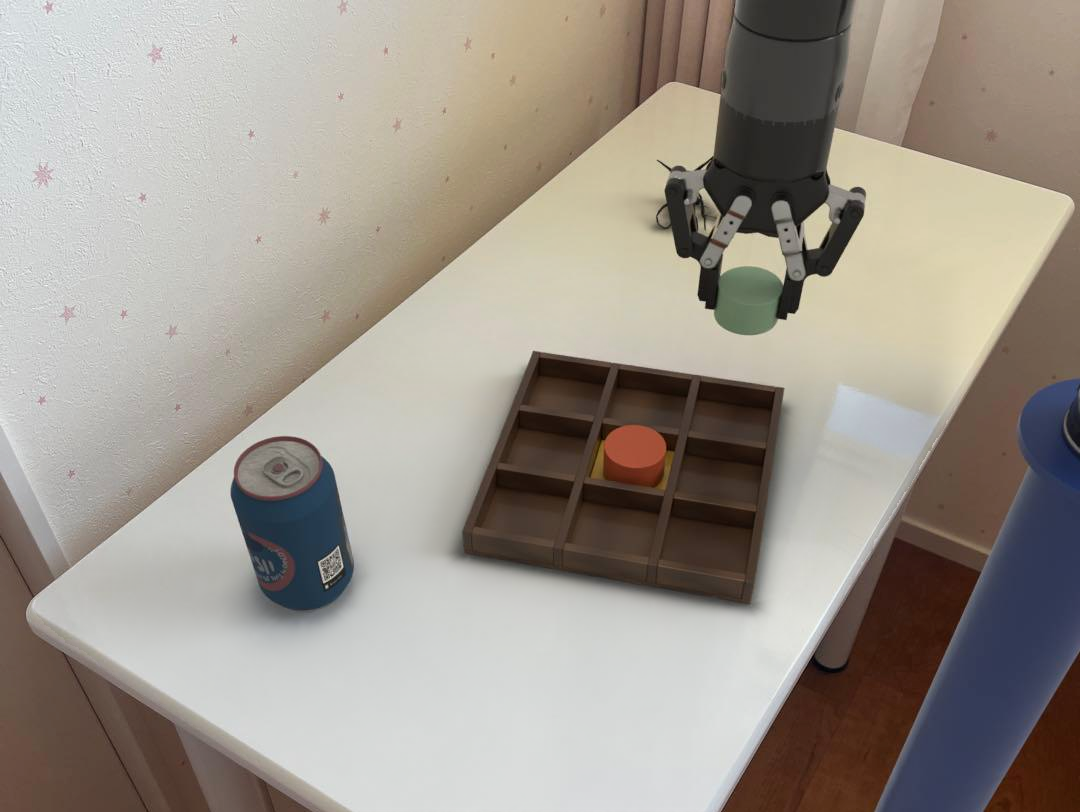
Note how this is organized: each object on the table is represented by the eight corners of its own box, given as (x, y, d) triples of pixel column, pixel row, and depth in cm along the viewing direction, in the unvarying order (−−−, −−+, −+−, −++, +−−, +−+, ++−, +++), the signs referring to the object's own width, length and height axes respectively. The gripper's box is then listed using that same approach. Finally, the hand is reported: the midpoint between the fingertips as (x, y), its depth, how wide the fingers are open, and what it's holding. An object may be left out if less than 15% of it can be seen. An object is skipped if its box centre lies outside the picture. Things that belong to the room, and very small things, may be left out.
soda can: (241, 586, 81) (201, 470, 72) (312, 532, 84) (283, 415, 75) (305, 635, 78) (272, 520, 69) (376, 576, 81) (353, 460, 72)
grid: (780, 409, 93) (784, 387, 91) (750, 604, 79) (754, 583, 77) (533, 372, 96) (533, 350, 95) (464, 552, 83) (461, 531, 81)
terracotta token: (668, 455, 88) (671, 429, 86) (658, 497, 85) (660, 472, 83) (609, 446, 89) (610, 420, 87) (597, 487, 86) (598, 462, 84)
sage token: (781, 301, 84) (786, 270, 82) (774, 339, 81) (779, 308, 79) (718, 292, 85) (722, 262, 83) (709, 330, 82) (713, 299, 80)
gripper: (899, 73, 71) (846, 292, 84) (679, 50, 74) (661, 267, 86) (894, 130, 66) (839, 353, 79) (659, 104, 69) (643, 324, 82)
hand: (746, 307), depth 83 cm, fingers closed on sage token, 4 cm apart
